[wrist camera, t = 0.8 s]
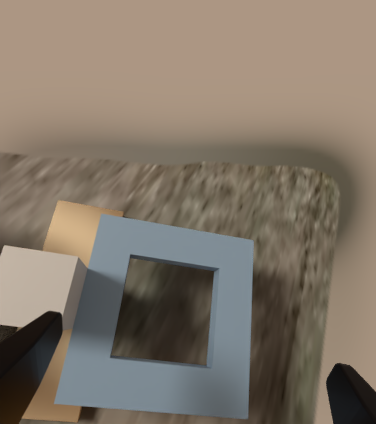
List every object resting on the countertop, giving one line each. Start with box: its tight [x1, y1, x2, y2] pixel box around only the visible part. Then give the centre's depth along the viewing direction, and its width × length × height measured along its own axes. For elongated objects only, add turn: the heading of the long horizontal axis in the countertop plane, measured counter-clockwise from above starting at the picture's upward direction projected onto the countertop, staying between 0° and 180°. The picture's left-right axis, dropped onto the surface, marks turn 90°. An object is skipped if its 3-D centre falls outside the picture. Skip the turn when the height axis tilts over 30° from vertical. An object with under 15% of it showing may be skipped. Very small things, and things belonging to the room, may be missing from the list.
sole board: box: [17, 200, 123, 422], centre depth 20 cm, size 14×5×1 cm, turn 173°
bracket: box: [0, 214, 254, 419], centre depth 17 cm, size 10×13×8 cm
